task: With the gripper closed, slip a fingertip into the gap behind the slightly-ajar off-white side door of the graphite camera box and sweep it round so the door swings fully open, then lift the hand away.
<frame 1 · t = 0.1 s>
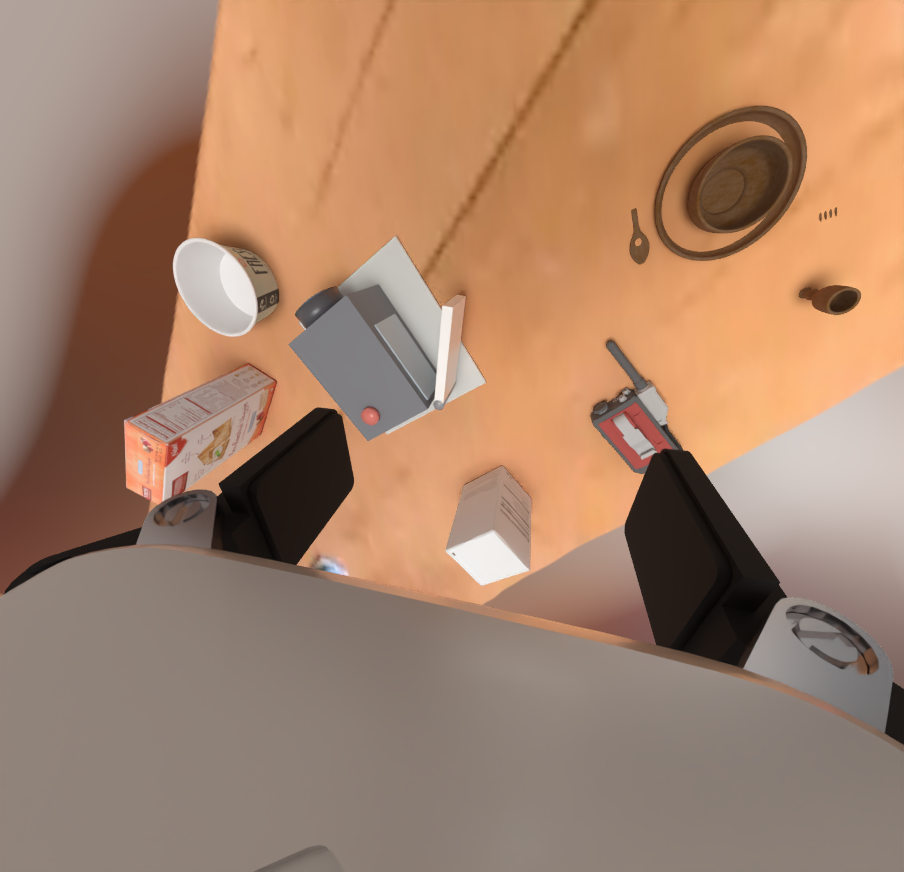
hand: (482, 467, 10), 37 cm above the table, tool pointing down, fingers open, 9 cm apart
camera box: (386, 354, 50), on the table
cracker box: (257, 400, 60), on the table
side door: (449, 353, 42), point 5 cm above the table, hinge at 40.0°
food container: (251, 284, 49), on the table
place setting: (721, 235, 35), on the table
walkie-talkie: (625, 407, 46), on the table
supplement box: (497, 491, 59), on the table
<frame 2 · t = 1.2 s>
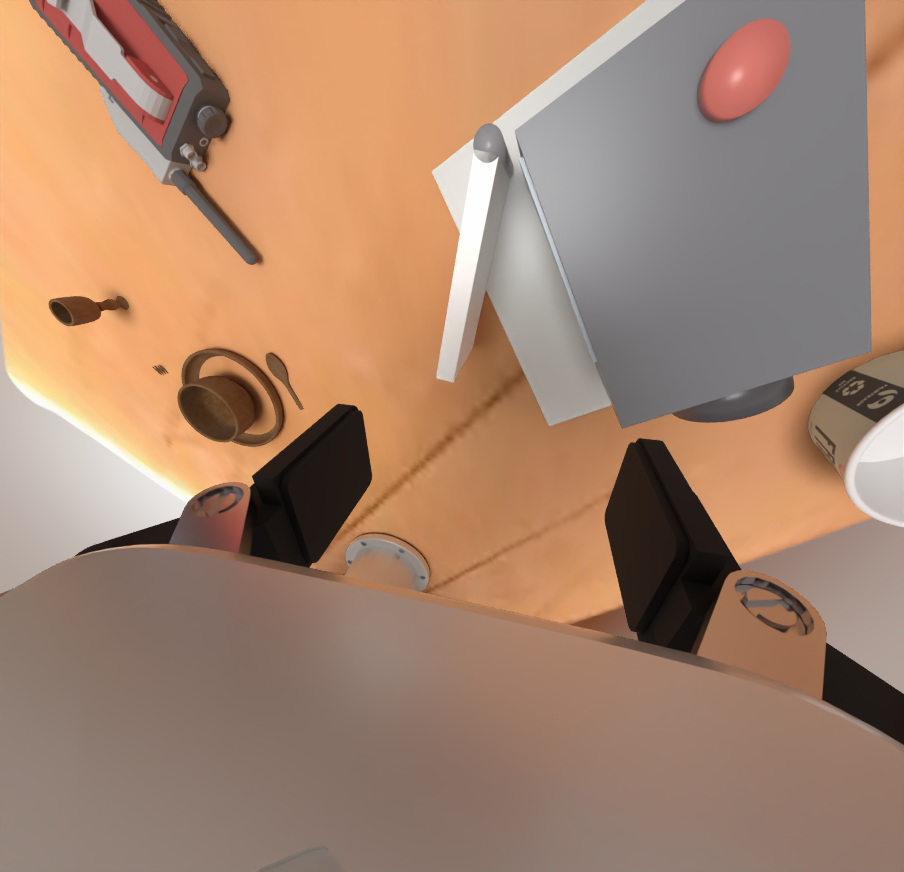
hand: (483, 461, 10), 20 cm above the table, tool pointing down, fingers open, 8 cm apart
camera box: (644, 241, 23), on the table
side door: (474, 270, 22), point 5 cm above the table, hinge at 40.0°
food container: (885, 407, 25), on the table
place setting: (221, 363, 37), on the table
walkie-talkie: (188, 116, 25), on the table
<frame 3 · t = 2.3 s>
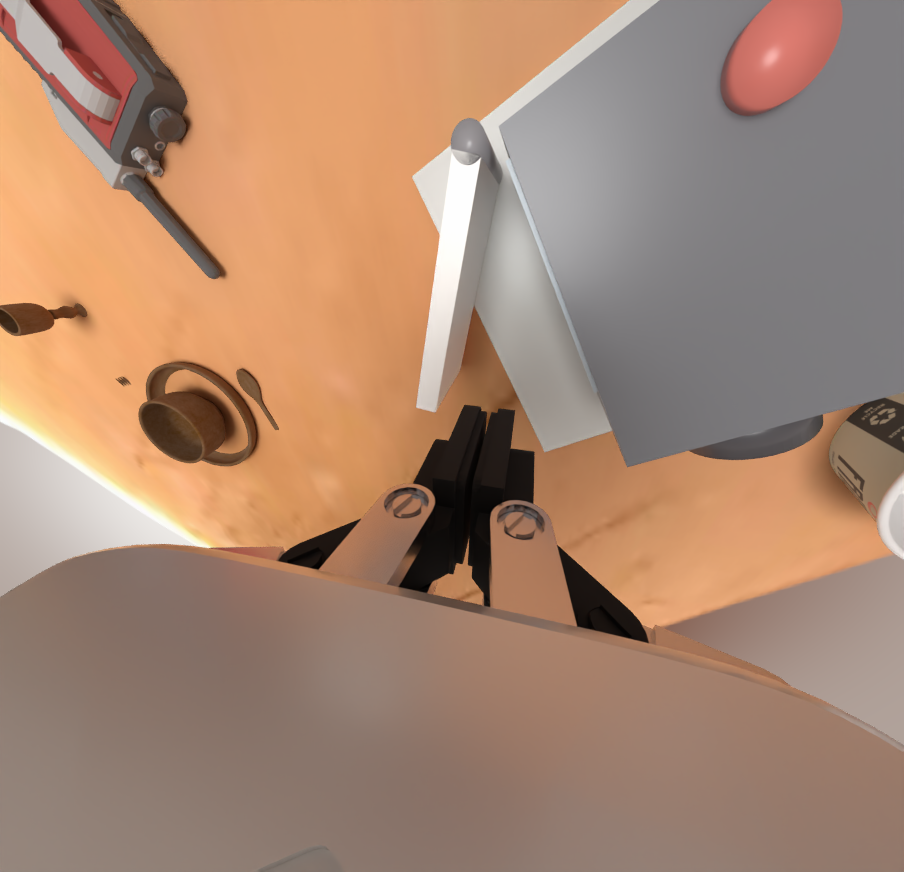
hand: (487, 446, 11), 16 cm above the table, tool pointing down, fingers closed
camera box: (648, 254, 20), on the table
side door: (459, 286, 19), point 5 cm above the table, hinge at 40.0°
place setting: (189, 377, 34), on the table
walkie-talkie: (144, 117, 23), on the table
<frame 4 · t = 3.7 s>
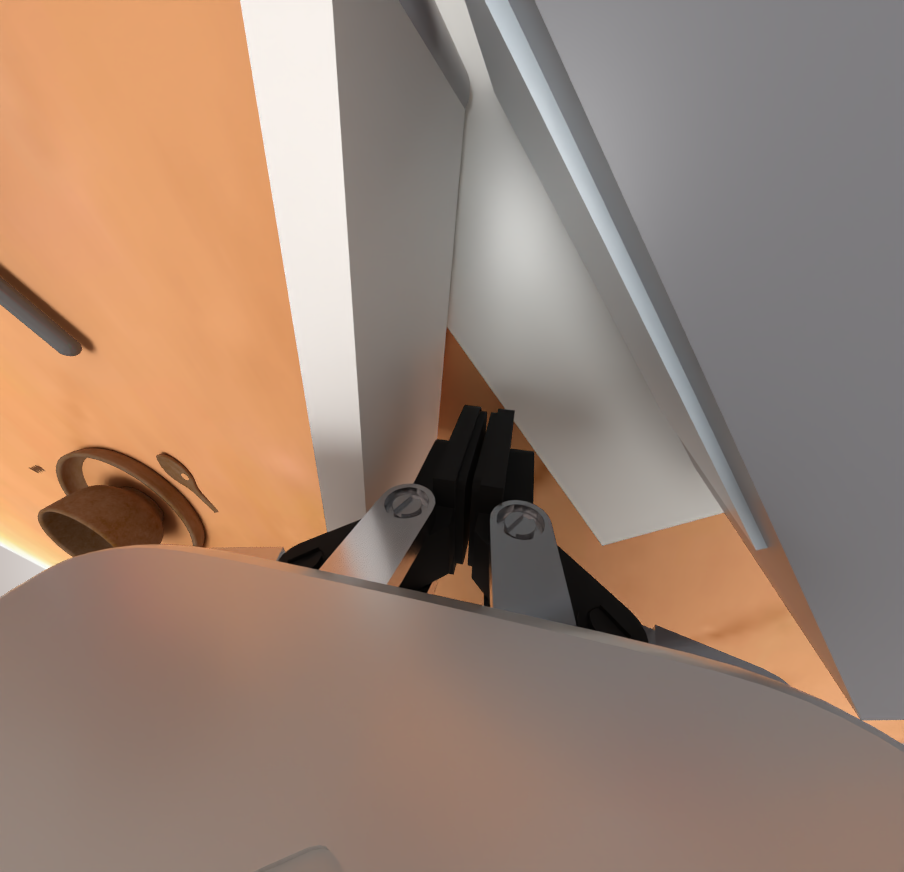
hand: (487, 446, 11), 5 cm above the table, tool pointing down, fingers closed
camera box: (797, 196, 10), on the table
side door: (398, 321, 9), point 5 cm above the table, hinge at 43.2°, touching gripper
place setting: (112, 461, 26), on the table
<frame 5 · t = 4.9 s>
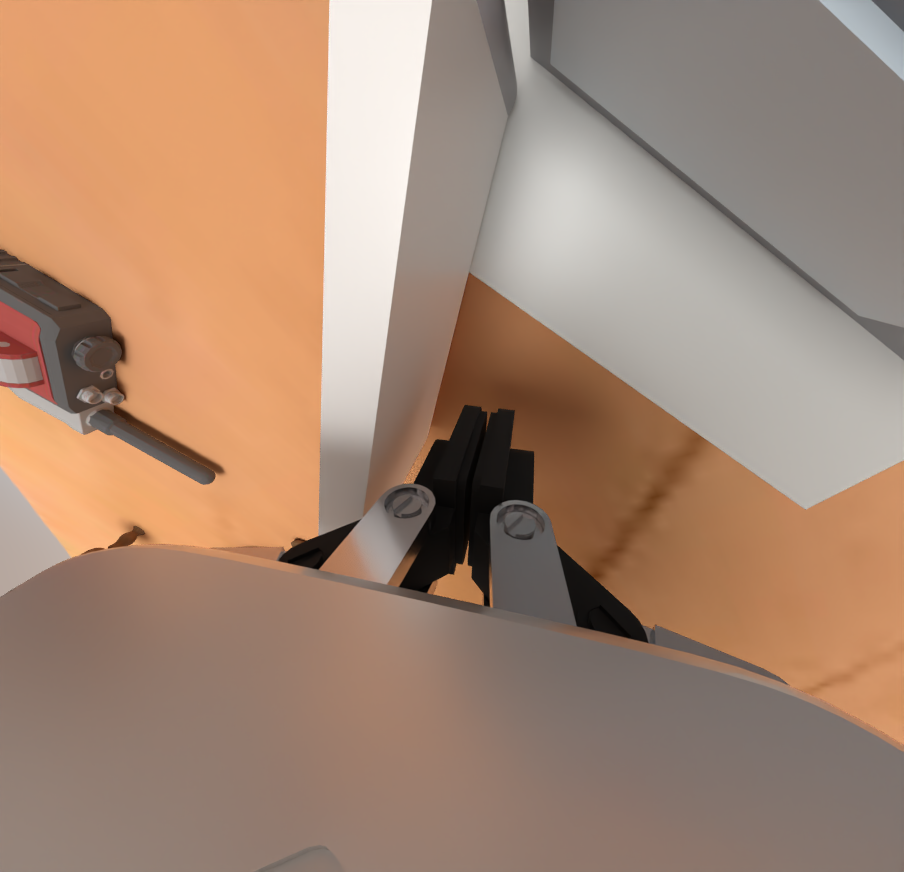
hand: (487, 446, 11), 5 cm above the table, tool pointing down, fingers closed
side door: (414, 322, 9), point 5 cm above the table, hinge at 73.5°, touching gripper
place setting: (255, 557, 29), on the table
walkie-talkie: (88, 349, 20), on the table
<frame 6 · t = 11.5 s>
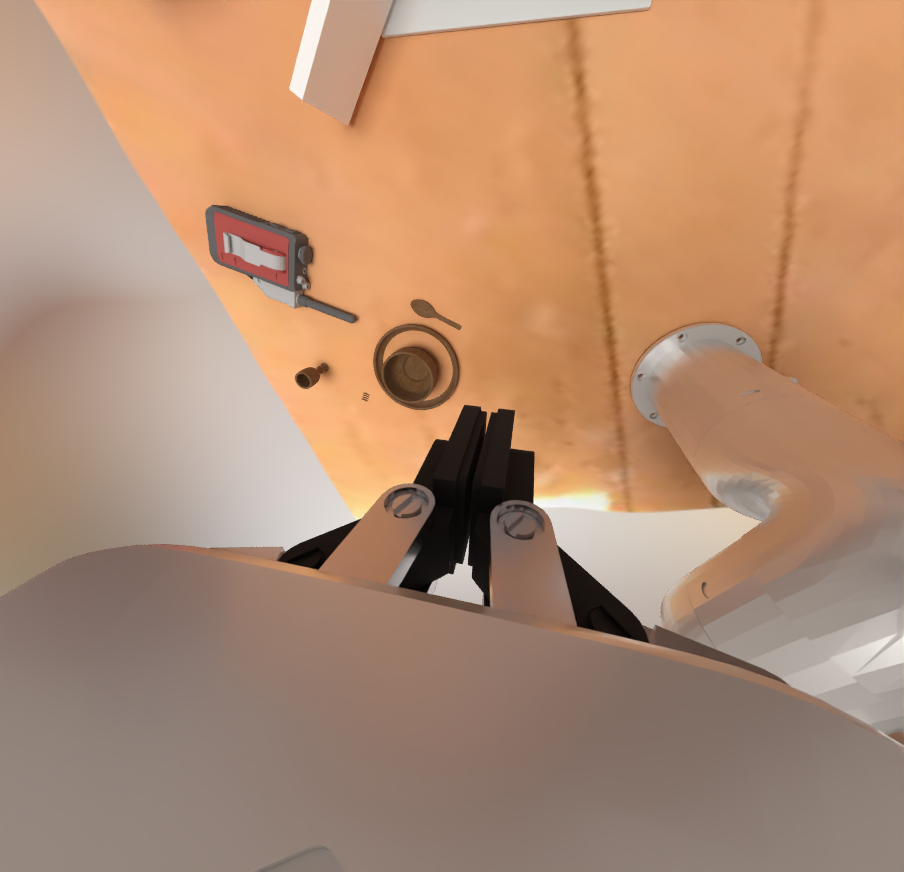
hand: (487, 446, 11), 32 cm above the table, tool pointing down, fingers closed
side door: (351, 15, 26), point 5 cm above the table, hinge at 125.3°
place setting: (392, 353, 46), on the table
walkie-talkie: (292, 265, 43), on the table
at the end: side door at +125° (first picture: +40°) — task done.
